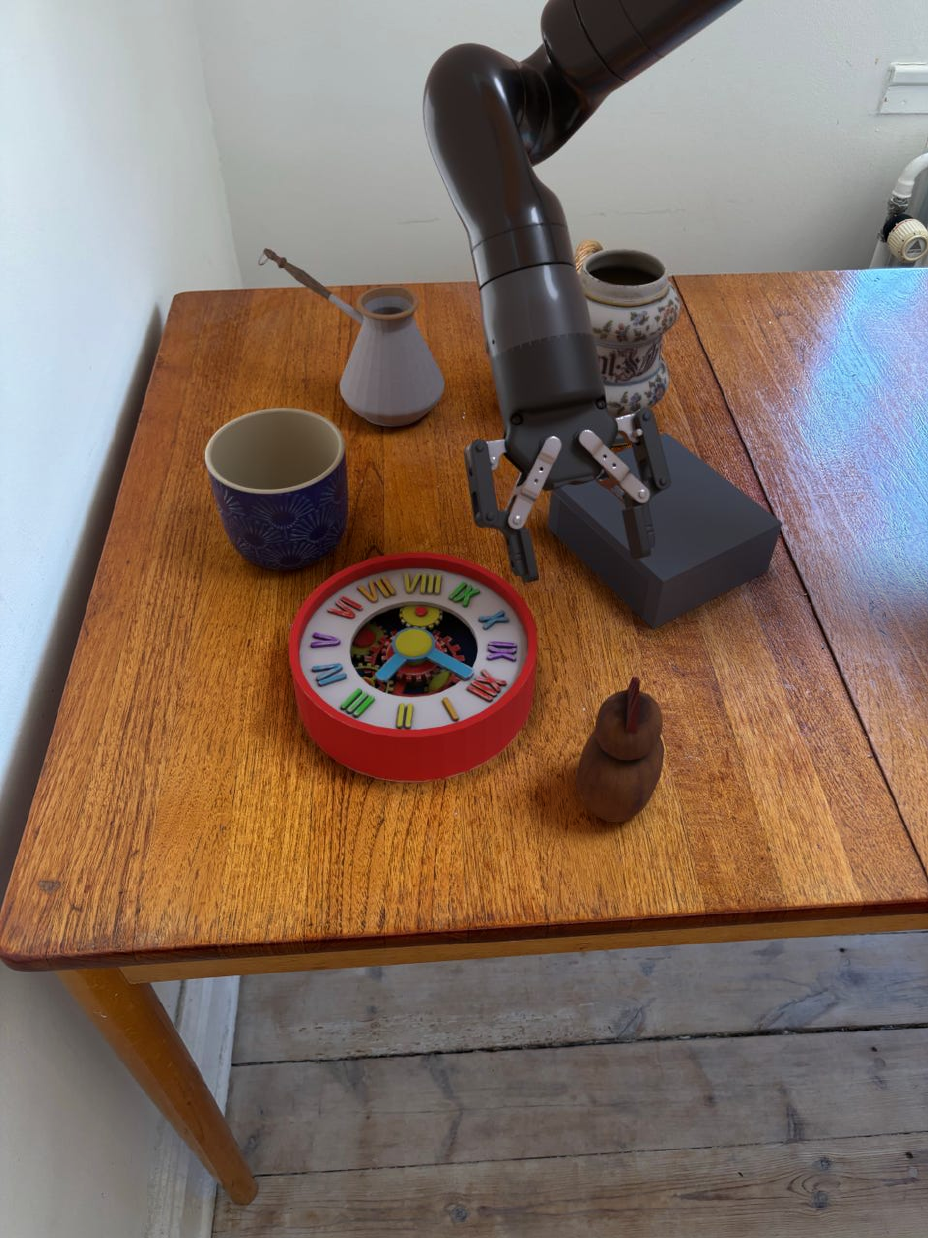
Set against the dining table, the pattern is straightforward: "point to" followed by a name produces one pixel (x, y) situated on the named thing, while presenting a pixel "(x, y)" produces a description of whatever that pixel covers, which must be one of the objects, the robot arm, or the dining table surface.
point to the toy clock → (413, 666)
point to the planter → (280, 486)
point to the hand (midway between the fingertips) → (587, 569)
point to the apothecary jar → (630, 325)
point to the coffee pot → (382, 353)
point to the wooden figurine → (622, 756)
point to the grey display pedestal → (669, 536)
